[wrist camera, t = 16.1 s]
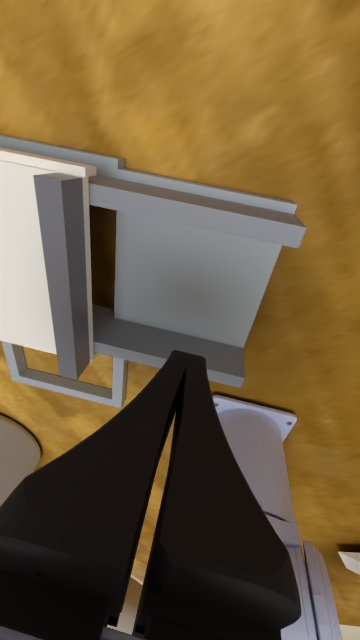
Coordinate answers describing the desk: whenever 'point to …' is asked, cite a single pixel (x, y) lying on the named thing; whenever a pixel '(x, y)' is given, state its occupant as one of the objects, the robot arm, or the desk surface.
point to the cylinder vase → (15, 456)
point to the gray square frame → (172, 271)
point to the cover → (46, 257)
